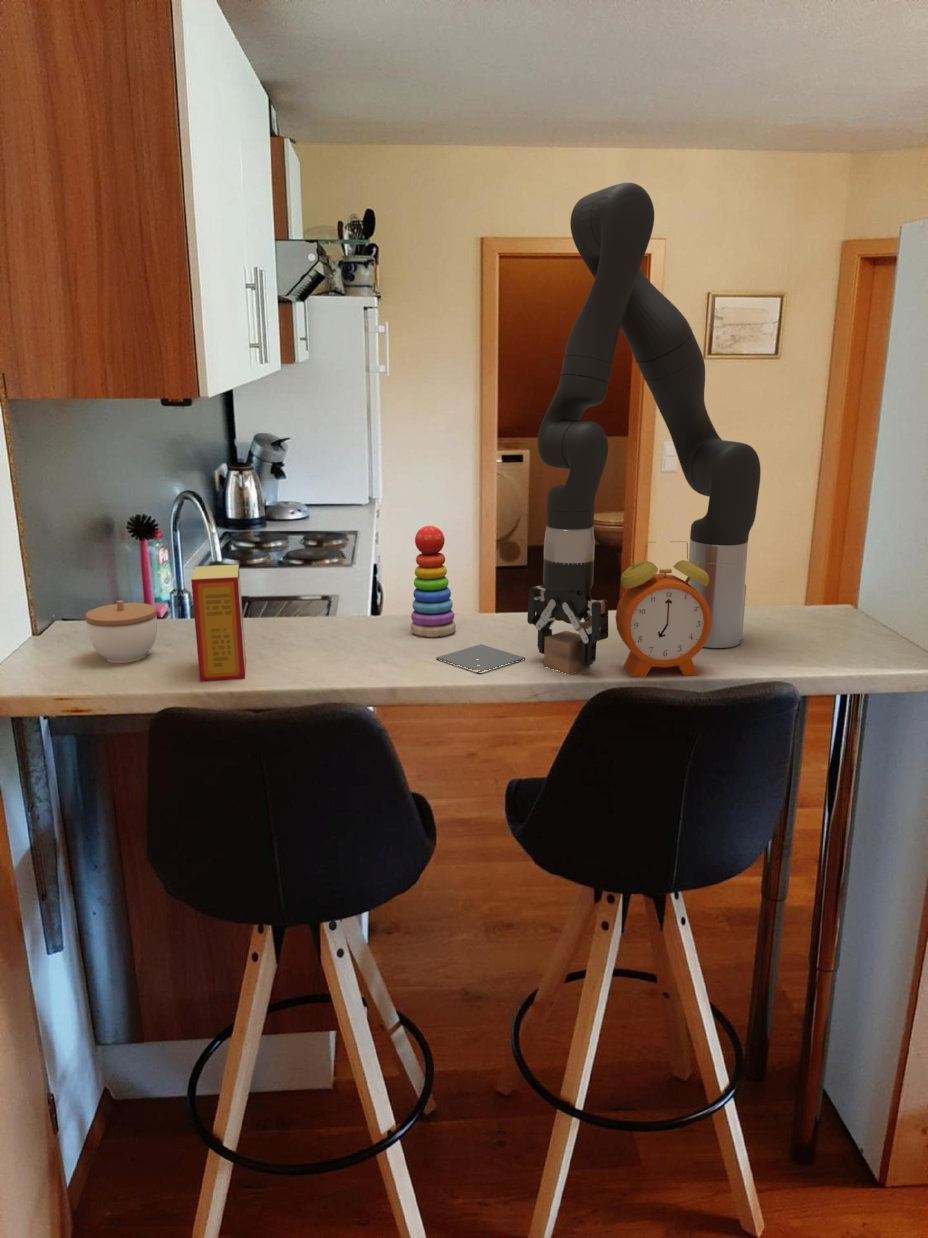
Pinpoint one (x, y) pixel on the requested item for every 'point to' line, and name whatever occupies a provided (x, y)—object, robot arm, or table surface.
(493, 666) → the mat
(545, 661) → the cube
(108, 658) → the lidded jar
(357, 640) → the table surface
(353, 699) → the table surface
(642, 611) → the alarm clock
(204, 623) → the baking soda box
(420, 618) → the stacking toy
